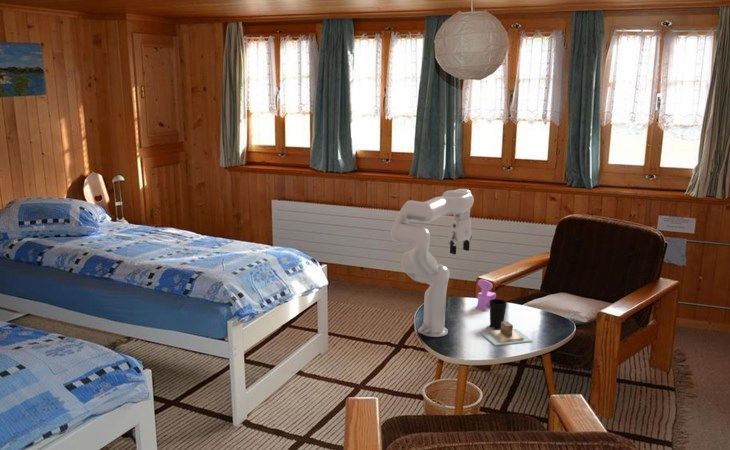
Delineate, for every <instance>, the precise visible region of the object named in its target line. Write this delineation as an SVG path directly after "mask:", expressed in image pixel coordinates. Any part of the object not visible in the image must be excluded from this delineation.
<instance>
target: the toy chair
mask: <svg viewBox="0 0 730 450" xmlns="http://www.w3.org/2000/svg"><path fill="white" fill-rule="evenodd" d="M477 286H479V287H480V289H481V292H478V293H477V303H476V306H475V309H478V310H481V311H485V312H488V311H487V306H488V307H490V300H492V299H496V297H497V293H496V292H492V291H491V290H492V289H493V286H494V285H493V283H492V282H490V281H488V280H486V279H479V280H478V281H477Z"/></svg>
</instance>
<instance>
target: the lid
mask: <svg viewBox="0 0 730 450" xmlns="http://www.w3.org/2000/svg"><path fill="white" fill-rule="evenodd" d="M513 329H514V325H513V324H511V322H509V321H508V320H507V321H503V322H501V328H500V329H495V330H493V329H492V330H489V331H488V332H489V333H490V334H491V335H492V336H493V337H495V338H496V339H497V340H498V341H500V342H510V341H520V340H524V338H523V337H522V336H520V335H519V334H518V333H516V332H515V331H514V330H513Z"/></svg>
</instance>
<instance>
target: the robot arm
mask: <svg viewBox="0 0 730 450" xmlns="http://www.w3.org/2000/svg"><path fill="white" fill-rule="evenodd" d="M474 201H475V199H474V196H473V194H472V192H471V190H469V189H467V188H458V189H453V190H449V189H448V190H446V191H444V192H443V193H442V195H441V196H436V197H433V198H431V199H428V200H426V201H419V200H412V199H411V200H408V201H406V202H405V203H404V204H403V205H402V207H401V208H400V210H399V212H398V214H397V216H396V219H395V220H394V222H393V224H392V226H391V229H390V237H391V238H390V239H391V240H392V241H393V242H395V243H397V244H401V245H402V244H403V245H408V246H414V247H413V248H411V250H410V249H409V250H407V251H406V252H404V253H403V254H402V256H401V260H400V264H401V265H400V267H401V268H402V270H403V272H404V273H405V274H406V275H408V277H410V279H412V280H413V281H414V282H419V283H421V284H427V285H429V286H428V287H427V289H426V291H425V292H424V297H423V298H424V299H423V301H424V303H423V318H422V319H423V323H422V324H421V326H420V327H419V328H418V329H417V333H418V334H422V335H423V336H425V337H433V338H441V337H444V336H446V335H448V331H449V330H448V328H446V327H445V324H446V322H445V321H446V306H447V305H446V304H447V302H446V301H447V289H448V283H449V279H450V269H449V267H448V266H446V265H443V264H441V263H438V262H437V259H436V257H434V256H433V254H432V253H430V251H429V249H430V245H431V233H430V231H429V229H427V228H426V227H424V226H422V225H416V224H410V221H411V222H417V223H427V224H428V223H430V222H433V221H434V220H437V219H439V218H441V217H445V216H451V215H453V217H452V222H451V227H450V234H449V235H448V236H447V241H448V242H447V243H449V254H452V255H457V243H458V242H459V243H460V242H461V243H462V242H463V243H462V245H463V246H462V250H464V251H466V252H467V251H470V245H471V244H470V243H471V241H472V240H471V239H473V237H472V236H473V234H474V232H473V231H472V220H471V209H472V207H473V205H474Z"/></svg>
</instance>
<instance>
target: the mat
mask: <svg viewBox="0 0 730 450" xmlns="http://www.w3.org/2000/svg"><path fill="white" fill-rule="evenodd" d="M513 330H514V331H515V332H516V333H518V334H519V335H520V336H522V337H523V338H524V340H520V341H510V342H500V341H498V340H497V339H496V338H495V337H493V336H492V335H491V334H490V333H489V331H482V332H481V331H480V335H481V336H482V337H484V338H485V339H486V340H487V341H489V342H490V343H491V344H492V345H494V346H495V347H497V346H507V345H508V346H509V345H515V344H526V343H532V342H533V340H532V339H531V338H530V337H528V336H527V335H526V334H524V333H522V332H521V331H520V330H518V329H517V328H513Z"/></svg>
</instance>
